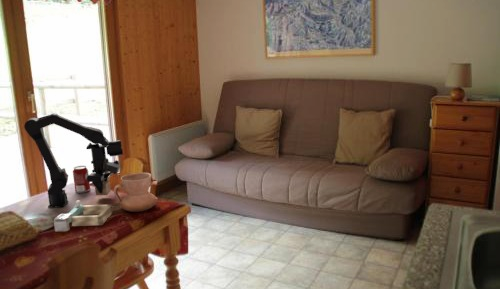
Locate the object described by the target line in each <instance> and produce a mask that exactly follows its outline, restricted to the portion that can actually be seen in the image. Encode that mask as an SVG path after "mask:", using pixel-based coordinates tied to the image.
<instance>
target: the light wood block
mask: <svg viewBox="0 0 500 289" xmlns="http://www.w3.org/2000/svg"><path fill="white" fill-rule="evenodd" d="M94 191H95V196H107V195H109V194H110V192H111V183H110V180H108V181H103V191H102V193H99V191H98V190H97V188H96V187H95V186H94Z"/></svg>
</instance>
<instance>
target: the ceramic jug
mask: <svg viewBox="0 0 500 289" xmlns="http://www.w3.org/2000/svg"><path fill="white" fill-rule="evenodd" d="M120 182H121V184H116V185H115V186H114V188H113V194H114V196H115V197H116V200H117V201H118V202H119V203H118V204H119V205H120V206H121V208H122V209H123V210H125V211H128V212H132V213H139V212H144V211H147V210H149V209H151V208H153V207H154V206H155V205H156V204H157V202H158V197H157V196H156V195H155V194H153V193H151V192H149V189H150V187H152V186H154V185H155V186H157V184H158V181H156V180H155V181H154V180H153V181H152V174H151V173H149V172H137V173H135V172H134V173H129V174H125V175H122V176H121V177H120ZM118 189H122V190H124V191H125V192H126V193H127V194H126V196H124V197H123V198H122V199H121V197H120V196H119V192H118Z"/></svg>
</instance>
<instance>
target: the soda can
mask: <svg viewBox="0 0 500 289" xmlns="http://www.w3.org/2000/svg"><path fill="white" fill-rule="evenodd" d="M88 175H90V173H89V170H88V167H87V166H86V165H77V166H74V167H73V170H72V178H73V183H74V191H75V193H79V194H84V193H87V192H89V191H90V190H91V185H90V184H91V182H87V177H88Z"/></svg>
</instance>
